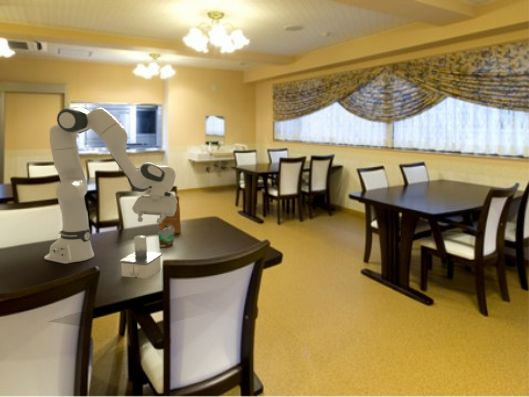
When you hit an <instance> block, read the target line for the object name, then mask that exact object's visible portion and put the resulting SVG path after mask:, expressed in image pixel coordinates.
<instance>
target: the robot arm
mask: <svg viewBox="0 0 529 397" xmlns="http://www.w3.org/2000/svg"><path fill="white" fill-rule="evenodd" d="M56 122H57V124H55V125H53V126H51V127H50V128H49V144H50V145H49V146H50V150H51V151H50V152H51V155H52V161H53V165H54V168H55V170H56V171H57V173H58V177H59V179H60V183H59V184H58V185H57V188H56V191H55V192H56V194H55V195H56V198H57V200H58V204H59V209H60V211H61V219H62V220H61V221H62V230H59V232H58V235H60V236H59V238H58V239H57V240H56V241H55V242H53V243H52V244H51V245H50V247H49V253H47V254H46V255H45V256H43V257H44V260H47V261H52V262H56V263H61V264H71V263H75V262H82V261H83V262H84V261H86V260H90V259H92V258H94V256H95V253H94V251H93V246H92V242H91V229H90V226H89V215H88V210H87V206H86V201H85V195H86V194H87V193H88V188H89V186H88V182H87V179H86V178H87V177H86V176H85V172H84V169H83V166H82V163H81V158H80V152H79V148H78V144H77V136H78V134H83V133H84V132H87V131H90V130H92V131H93V132H94V133H95V134H96V135H97V136H98V138H99V139H100V140H101V141H102V143H104V145H105V146H106V148H107V149H108V152H109V154H110V156H111V157H112V159H113V161H114V162H115V163H116V164H117V166H118V167H119V168H120V171H122V172H123V174H124V175H125V177H126V179H127V181H128V184H129V186H130V187H131V189H132V190H134V191H136V192H139V193H143V192H146V191H147V190H149V188H150V187H151V189H150V191H149V194H148V195H141V196H138V197H137V198H136V201H135V202H134V203H133V205H132V208H131V209H132V211H133V213H134V214H137V217H138V218H137V222H138V223H143V220H144V218H143V217H142V216H143V215H148V216H159V218H157V219H156V223H157V224H159V223H161V222H162V220H163V219H164V218H165V217H166V216H173V215H174V214H175V212H176V207H177V206H176V204H177V199H176V196H175V194H174V193H172V192H171V191H172V189H173V187H174V184H175V182H176V171H175V170H174V169H173V168H172V167H171V166H169V165H157V164H155V163H153V162H149V161H148V162H144V163H142V165H141V166H139V167H138V168H137V167H136V165H135V164H134V163H133V162H132V159H131V158H130V157H129V156H128V153H127V145H128V138H129V137H128V133H127V131H126V129H125V128H124V126H123V125H122V124H121V123H120V121H118V120H117V119H116V118H115V117H114V116H113V114H111V113H110V112H109V111H108V110H107V109H105V108H103V107H97V108H94V109H92V110H90V109H88V108H86V107H79V106H74V107H66V108H63V109H62V110H60V111H59V112H58V114H57V116H56ZM160 216H161V217H160Z"/></svg>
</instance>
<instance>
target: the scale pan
mask: <svg viewBox="0 0 529 397" xmlns="http://www.w3.org/2000/svg"><path fill="white" fill-rule="evenodd" d="M161 256H163V253H161V252H148V251H147V257H146V258H143V259H137V258H135V251H134V252H132V253H130V254H129V255H126V256H125V257H123V258H121V259H120V260H119V263H131V264H141V265H148V264H150V263H151V262H153V261H154V260H156V259H157V258H158V257H160V258H161Z"/></svg>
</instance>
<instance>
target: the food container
mask: <svg viewBox="0 0 529 397" xmlns="http://www.w3.org/2000/svg"><path fill="white" fill-rule="evenodd" d="M174 231H175V229H174V227H173V226H172V225H167V227H166V228H163V229H162V230H160V229H158V230H157V235H158V245H159V246H158V247H159V248H160V249H167V248H171V247H173V246H174V234H173V232H174Z"/></svg>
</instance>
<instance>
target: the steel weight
mask: <svg viewBox="0 0 529 397" xmlns="http://www.w3.org/2000/svg"><path fill="white" fill-rule="evenodd" d="M133 237H134V238H133V240H134V243H133V244H134V252H135V258H137V259H143V258H146V257H147V252H148V246H147V236H146V235H142V234H141V235H136V236H133Z"/></svg>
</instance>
